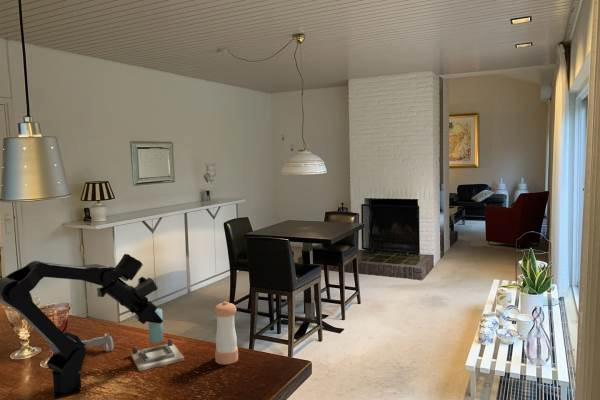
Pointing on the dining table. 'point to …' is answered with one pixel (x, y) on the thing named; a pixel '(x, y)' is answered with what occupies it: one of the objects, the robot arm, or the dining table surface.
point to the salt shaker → (226, 334)
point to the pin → (156, 329)
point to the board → (156, 356)
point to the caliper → (101, 342)
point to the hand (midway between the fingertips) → (159, 320)
